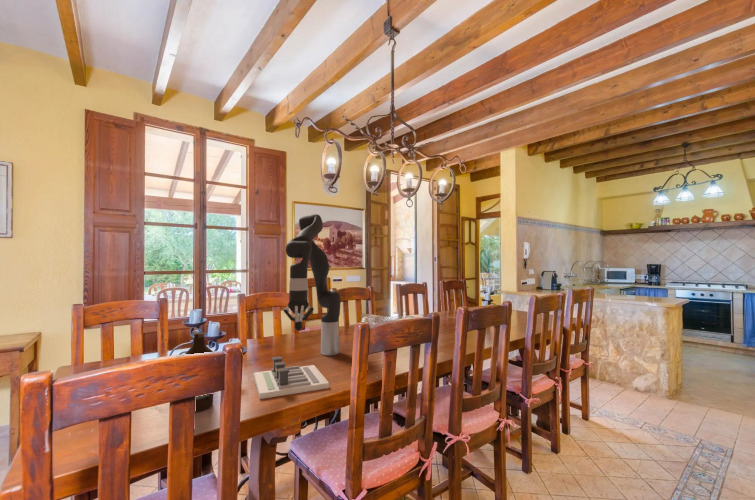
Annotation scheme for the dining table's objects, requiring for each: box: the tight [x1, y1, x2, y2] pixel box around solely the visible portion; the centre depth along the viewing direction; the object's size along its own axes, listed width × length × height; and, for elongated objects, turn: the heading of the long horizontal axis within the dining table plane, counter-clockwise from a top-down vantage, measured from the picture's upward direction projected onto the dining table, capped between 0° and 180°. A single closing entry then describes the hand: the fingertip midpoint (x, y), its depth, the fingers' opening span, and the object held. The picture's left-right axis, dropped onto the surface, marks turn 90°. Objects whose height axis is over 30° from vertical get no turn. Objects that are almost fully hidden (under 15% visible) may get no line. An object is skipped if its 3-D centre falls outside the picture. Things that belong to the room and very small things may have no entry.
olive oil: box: [184, 332, 214, 413], centre depth 116 cm, size 11×11×25 cm
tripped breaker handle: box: [275, 361, 286, 379], centre depth 137 cm, size 4×4×6 cm
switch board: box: [253, 356, 330, 400], centre depth 139 cm, size 26×24×8 cm
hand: (298, 330), depth 140 cm, fingers closed
